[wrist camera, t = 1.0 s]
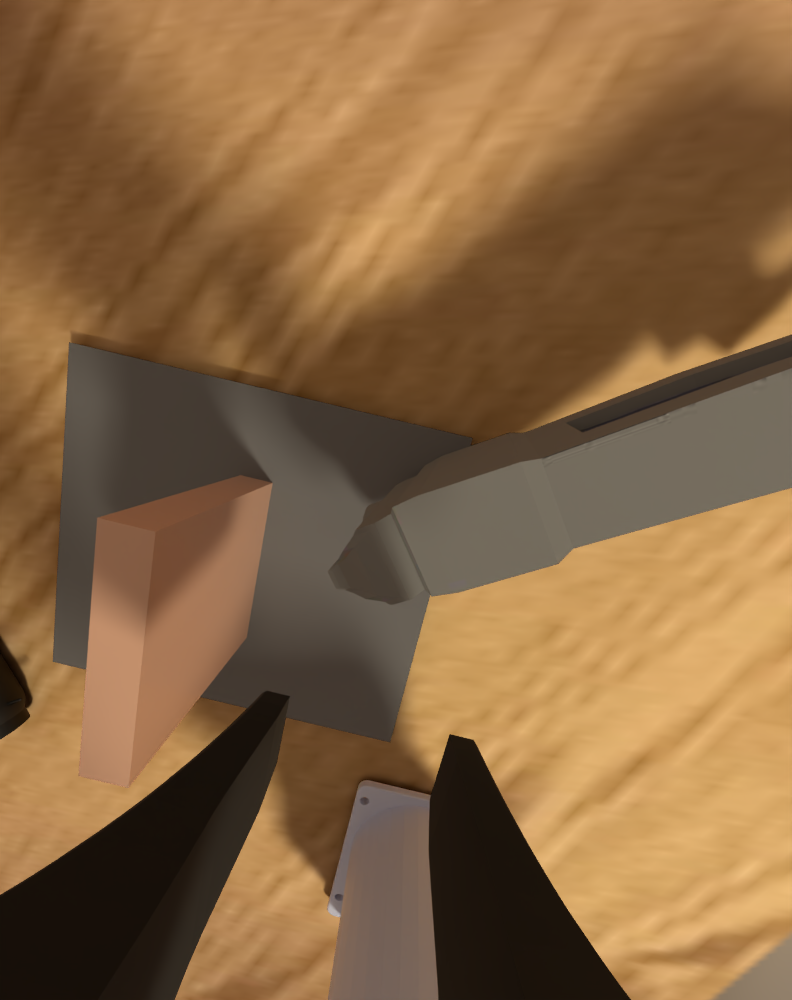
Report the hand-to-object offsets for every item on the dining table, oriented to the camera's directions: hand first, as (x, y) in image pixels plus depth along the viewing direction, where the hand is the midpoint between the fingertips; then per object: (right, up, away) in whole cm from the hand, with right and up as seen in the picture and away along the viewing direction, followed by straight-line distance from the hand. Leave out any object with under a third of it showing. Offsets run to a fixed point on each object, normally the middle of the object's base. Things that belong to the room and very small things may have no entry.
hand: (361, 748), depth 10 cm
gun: (+12, +10, +7) cm, 17 cm away
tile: (-6, +3, +9) cm, 11 cm away
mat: (-6, +3, +9) cm, 12 cm away
